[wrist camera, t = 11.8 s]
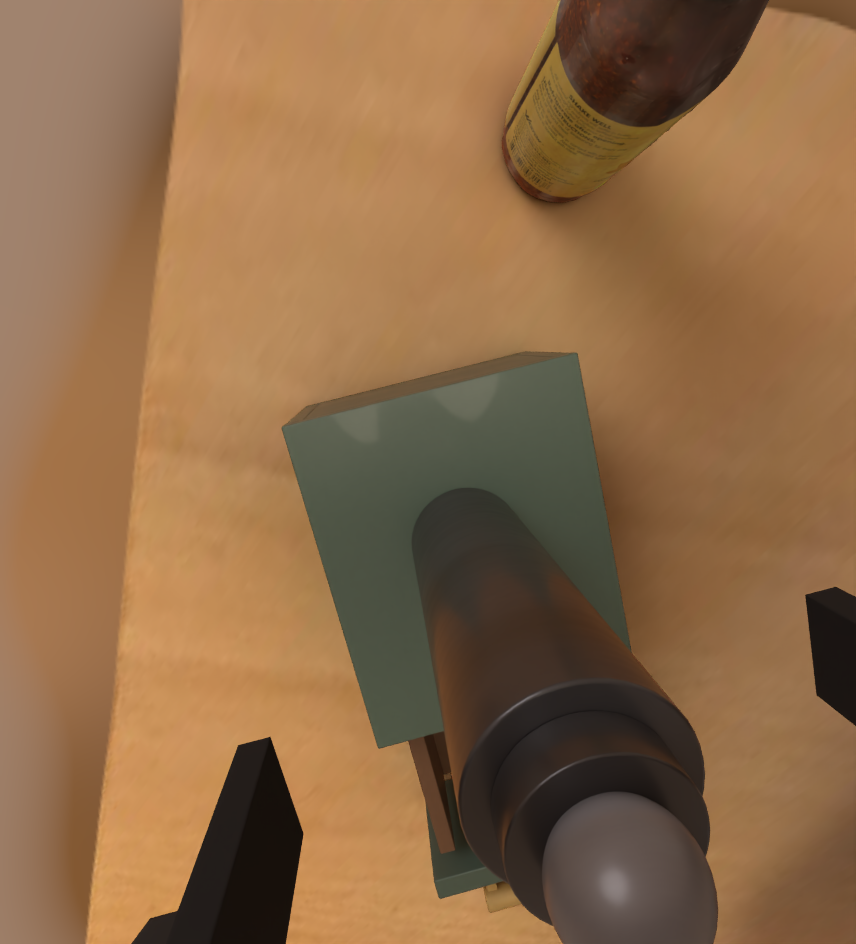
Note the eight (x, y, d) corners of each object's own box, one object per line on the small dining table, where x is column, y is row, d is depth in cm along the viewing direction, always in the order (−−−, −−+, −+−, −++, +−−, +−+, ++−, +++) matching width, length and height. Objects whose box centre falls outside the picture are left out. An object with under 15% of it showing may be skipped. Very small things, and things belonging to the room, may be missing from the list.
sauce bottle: (611, 206, 32) (981, -16, 12) (496, 207, 31) (693, -24, 12) (616, 69, 30) (1042, -425, 11) (496, 68, 30) (718, -452, 10)
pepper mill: (530, 576, 26) (847, 1049, 9) (426, 603, 26) (530, 1143, 8) (508, 475, 25) (817, 776, 8) (399, 502, 25) (454, 877, 7)
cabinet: (576, 602, 36) (636, 679, 28) (377, 655, 36) (378, 749, 27) (526, 351, 33) (577, 352, 24) (305, 406, 32) (281, 427, 24)
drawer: (612, 809, 39) (660, 905, 32) (443, 856, 38) (457, 963, 32) (558, 545, 34) (602, 592, 28) (368, 595, 34) (367, 655, 27)
